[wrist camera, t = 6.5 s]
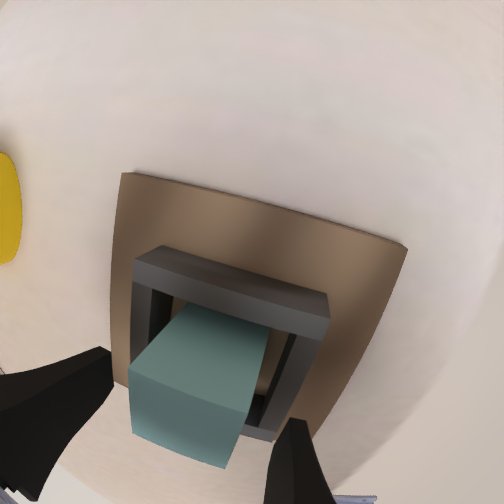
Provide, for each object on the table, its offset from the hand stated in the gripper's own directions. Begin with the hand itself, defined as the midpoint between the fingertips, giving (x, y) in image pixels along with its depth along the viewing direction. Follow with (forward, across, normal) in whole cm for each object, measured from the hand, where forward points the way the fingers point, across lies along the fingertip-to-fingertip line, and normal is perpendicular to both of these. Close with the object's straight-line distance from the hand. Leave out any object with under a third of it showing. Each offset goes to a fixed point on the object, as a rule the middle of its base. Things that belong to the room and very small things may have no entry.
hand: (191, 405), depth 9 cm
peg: (+5, 0, 0) cm, 5 cm away
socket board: (+6, 0, 0) cm, 6 cm away
